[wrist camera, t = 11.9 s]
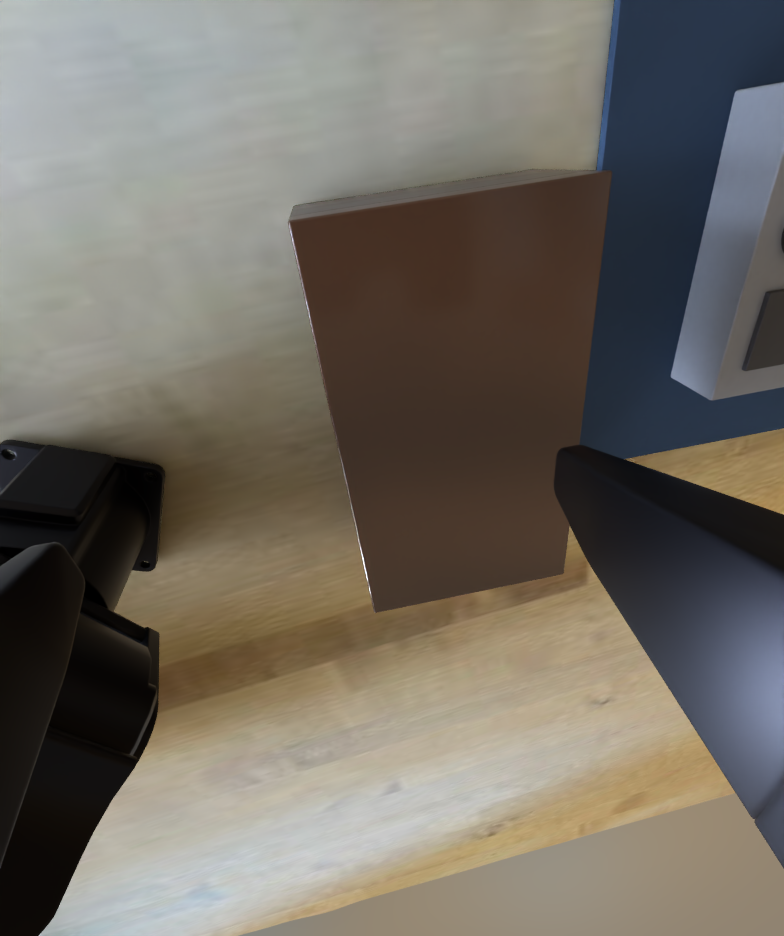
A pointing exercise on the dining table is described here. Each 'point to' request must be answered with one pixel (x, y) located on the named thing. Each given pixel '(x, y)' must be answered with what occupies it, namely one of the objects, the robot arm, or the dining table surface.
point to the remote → (740, 260)
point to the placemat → (668, 214)
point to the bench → (455, 369)
